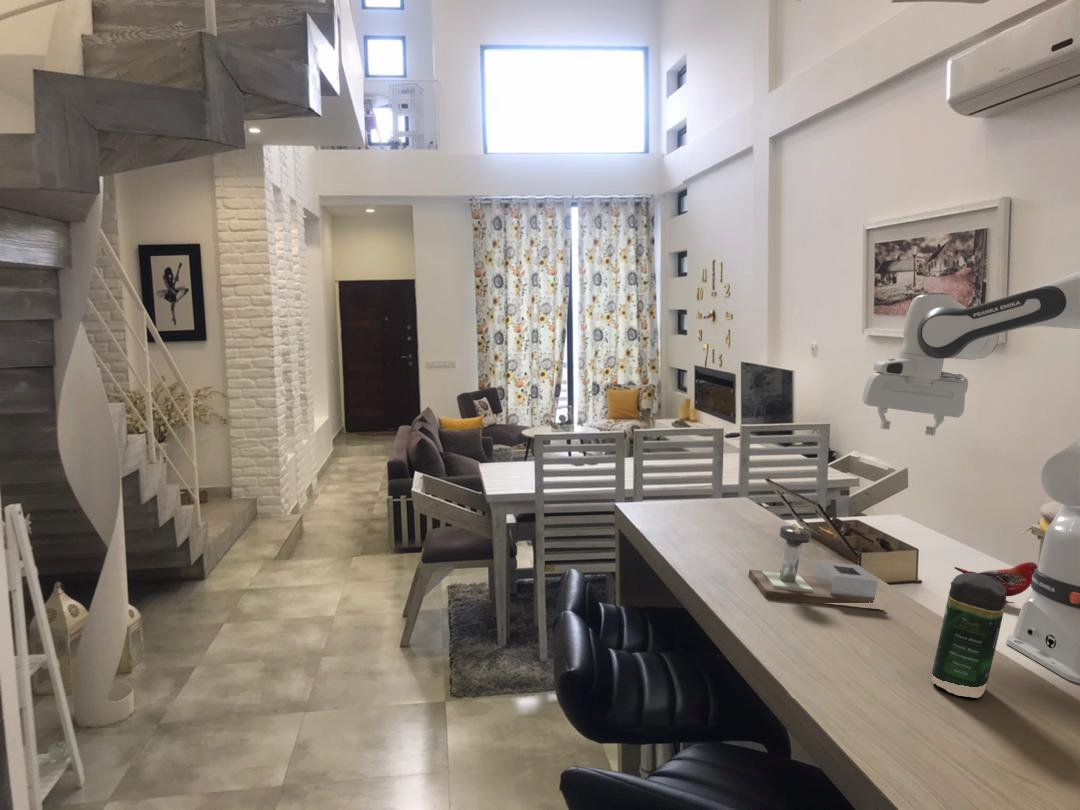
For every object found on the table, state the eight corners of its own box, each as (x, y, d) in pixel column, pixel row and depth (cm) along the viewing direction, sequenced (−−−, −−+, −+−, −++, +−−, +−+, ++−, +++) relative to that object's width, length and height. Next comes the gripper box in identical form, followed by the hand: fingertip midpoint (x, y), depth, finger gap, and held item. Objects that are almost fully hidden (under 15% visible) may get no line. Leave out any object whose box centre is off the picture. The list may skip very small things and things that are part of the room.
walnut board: (883, 610, 160) (885, 600, 160) (765, 598, 159) (767, 587, 159) (858, 588, 172) (860, 578, 172) (748, 576, 171) (749, 566, 171)
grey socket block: (874, 599, 161) (877, 580, 161) (830, 595, 161) (834, 576, 160) (855, 583, 170) (859, 565, 170) (814, 578, 170) (817, 560, 169)
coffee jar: (981, 707, 123) (1006, 592, 121) (926, 687, 128) (948, 576, 125) (988, 686, 131) (1012, 578, 129) (936, 668, 136) (957, 563, 133)
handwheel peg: (799, 577, 168) (808, 526, 166) (804, 587, 162) (814, 534, 160) (770, 572, 168) (779, 521, 167) (774, 582, 162) (783, 529, 161)
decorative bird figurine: (1037, 611, 172) (1047, 566, 170) (950, 596, 174) (959, 552, 173) (1031, 606, 175) (1041, 562, 173) (946, 591, 177) (955, 548, 176)
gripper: (964, 373, 174) (952, 436, 176) (866, 361, 177) (855, 423, 179) (975, 376, 168) (962, 441, 170) (874, 363, 170) (862, 427, 172)
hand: (907, 431), depth 174 cm, fingers open, 8 cm apart
